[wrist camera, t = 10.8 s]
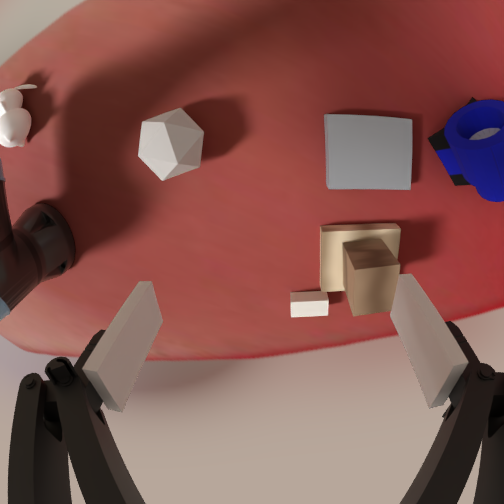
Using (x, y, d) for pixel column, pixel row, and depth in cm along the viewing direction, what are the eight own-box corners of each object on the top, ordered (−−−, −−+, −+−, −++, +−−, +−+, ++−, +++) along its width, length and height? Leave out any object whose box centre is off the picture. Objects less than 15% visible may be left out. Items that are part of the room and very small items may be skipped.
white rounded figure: (-20, 96, 26) (-8, 153, 31) (28, 65, 30) (41, 120, 34) (-4, 108, 34) (9, 157, 38) (39, 81, 37) (53, 130, 42)
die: (183, 97, 36) (120, 114, 31) (227, 118, 33) (158, 138, 28) (179, 147, 43) (123, 169, 37) (218, 173, 40) (158, 201, 34)
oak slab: (319, 282, 47) (321, 292, 45) (319, 224, 43) (322, 231, 40) (388, 277, 46) (393, 287, 43) (394, 221, 41) (400, 228, 39)
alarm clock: (470, 93, 30) (533, 96, 17) (502, 155, 33) (560, 179, 20) (424, 134, 35) (484, 148, 21) (460, 196, 38) (516, 232, 24)
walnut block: (342, 284, 44) (353, 316, 36) (342, 242, 41) (354, 269, 33) (379, 279, 43) (395, 310, 36) (381, 238, 40) (400, 264, 33)
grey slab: (325, 184, 40) (329, 189, 37) (323, 114, 36) (326, 114, 33) (402, 184, 39) (410, 189, 36) (403, 118, 34) (412, 119, 32)
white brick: (290, 306, 49) (291, 317, 47) (290, 291, 48) (290, 302, 45) (325, 304, 49) (327, 315, 46) (326, 290, 47) (328, 300, 45)
